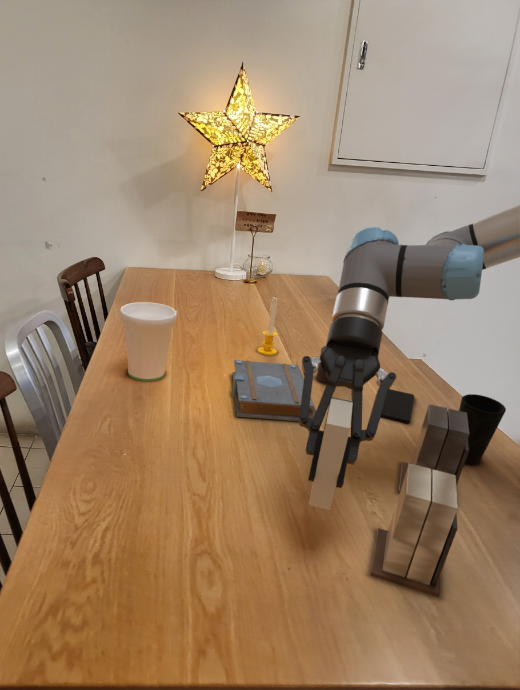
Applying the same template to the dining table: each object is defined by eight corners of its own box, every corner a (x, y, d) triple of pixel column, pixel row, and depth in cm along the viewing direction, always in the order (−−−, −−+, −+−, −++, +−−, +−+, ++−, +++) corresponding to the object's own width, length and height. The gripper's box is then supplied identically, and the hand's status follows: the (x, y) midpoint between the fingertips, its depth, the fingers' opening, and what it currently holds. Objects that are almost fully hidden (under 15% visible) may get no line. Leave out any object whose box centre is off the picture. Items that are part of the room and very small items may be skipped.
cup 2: (456, 469, 101) (476, 413, 96) (436, 447, 108) (453, 393, 102) (493, 468, 102) (515, 413, 97) (470, 447, 109) (489, 394, 104)
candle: (268, 347, 149) (276, 292, 142) (280, 354, 145) (289, 297, 138) (253, 349, 146) (261, 293, 139) (265, 356, 142) (273, 299, 135)
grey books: (451, 478, 98) (475, 412, 92) (453, 509, 90) (479, 438, 83) (401, 464, 100) (420, 399, 94) (398, 494, 92) (419, 424, 86)
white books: (438, 550, 80) (466, 474, 74) (438, 598, 71) (470, 516, 65) (376, 532, 82) (399, 456, 76) (370, 576, 74) (394, 495, 68)
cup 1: (168, 362, 132) (172, 302, 125) (177, 385, 122) (181, 320, 115) (117, 363, 129) (117, 301, 122) (121, 385, 118) (122, 319, 111)
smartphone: (377, 413, 117) (385, 387, 129) (376, 416, 117) (384, 390, 130) (410, 421, 115) (414, 394, 127) (409, 424, 115) (413, 397, 128)
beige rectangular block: (334, 478, 80) (353, 401, 74) (330, 510, 73) (350, 428, 67) (314, 473, 81) (331, 396, 75) (307, 505, 74) (326, 422, 68)
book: (314, 424, 111) (318, 402, 109) (234, 418, 110) (237, 396, 108) (298, 381, 130) (301, 362, 128) (230, 375, 129) (232, 356, 127)
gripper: (407, 348, 81) (381, 501, 74) (301, 328, 84) (266, 474, 77) (419, 325, 74) (392, 491, 67) (302, 304, 77) (265, 462, 70)
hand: (325, 482), depth 72 cm, fingers closed on beige rectangular block, 3 cm apart
